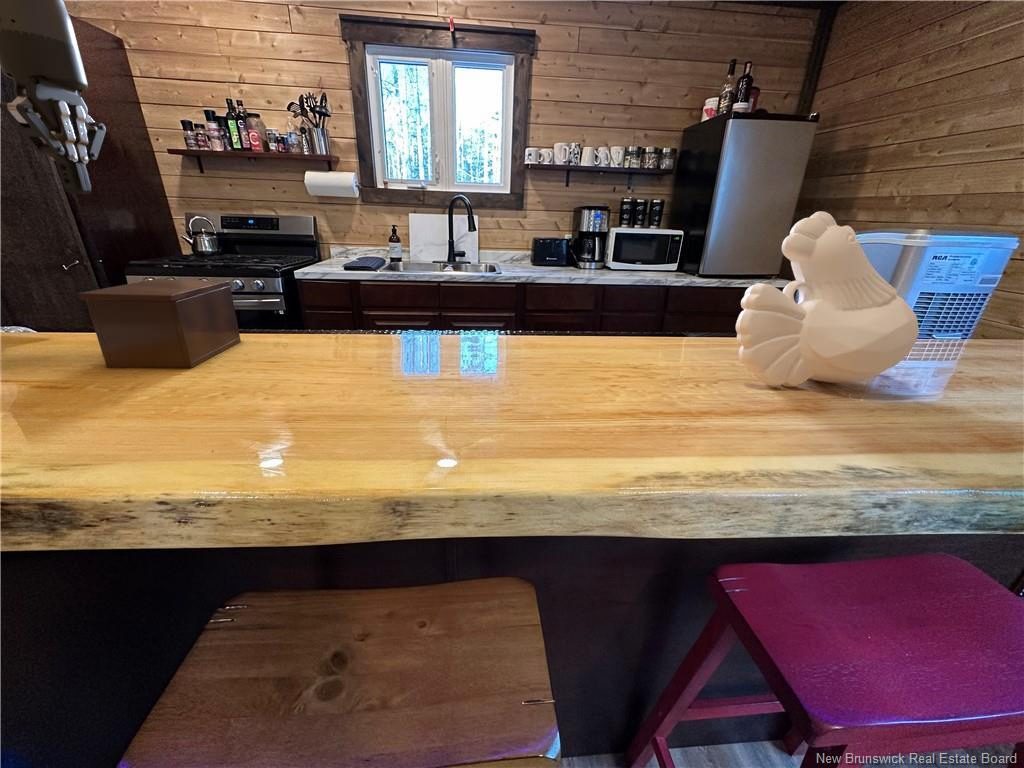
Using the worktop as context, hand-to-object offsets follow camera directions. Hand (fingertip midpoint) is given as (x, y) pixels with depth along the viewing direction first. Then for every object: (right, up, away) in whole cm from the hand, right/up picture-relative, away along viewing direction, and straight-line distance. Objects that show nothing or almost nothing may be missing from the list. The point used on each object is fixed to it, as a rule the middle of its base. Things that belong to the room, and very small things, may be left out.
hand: (79, 193), depth 59 cm
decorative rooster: (+105, -25, +11) cm, 108 cm away
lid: (+6, -12, +7) cm, 15 cm away
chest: (+5, -21, +11) cm, 24 cm away
